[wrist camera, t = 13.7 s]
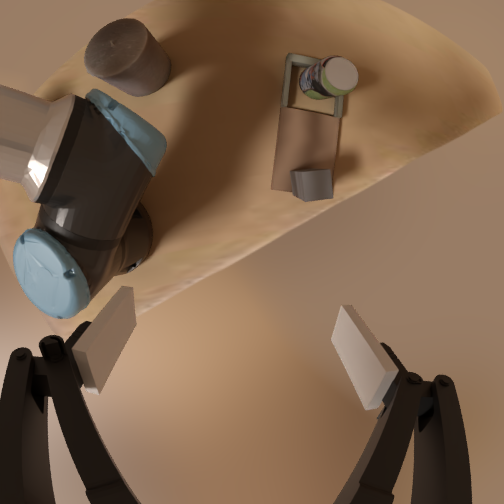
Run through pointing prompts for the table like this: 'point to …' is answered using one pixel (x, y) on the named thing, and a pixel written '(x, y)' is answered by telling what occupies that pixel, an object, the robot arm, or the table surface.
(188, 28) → the table surface
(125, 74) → the pillar candle
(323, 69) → the beverage can
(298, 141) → the pull strip
